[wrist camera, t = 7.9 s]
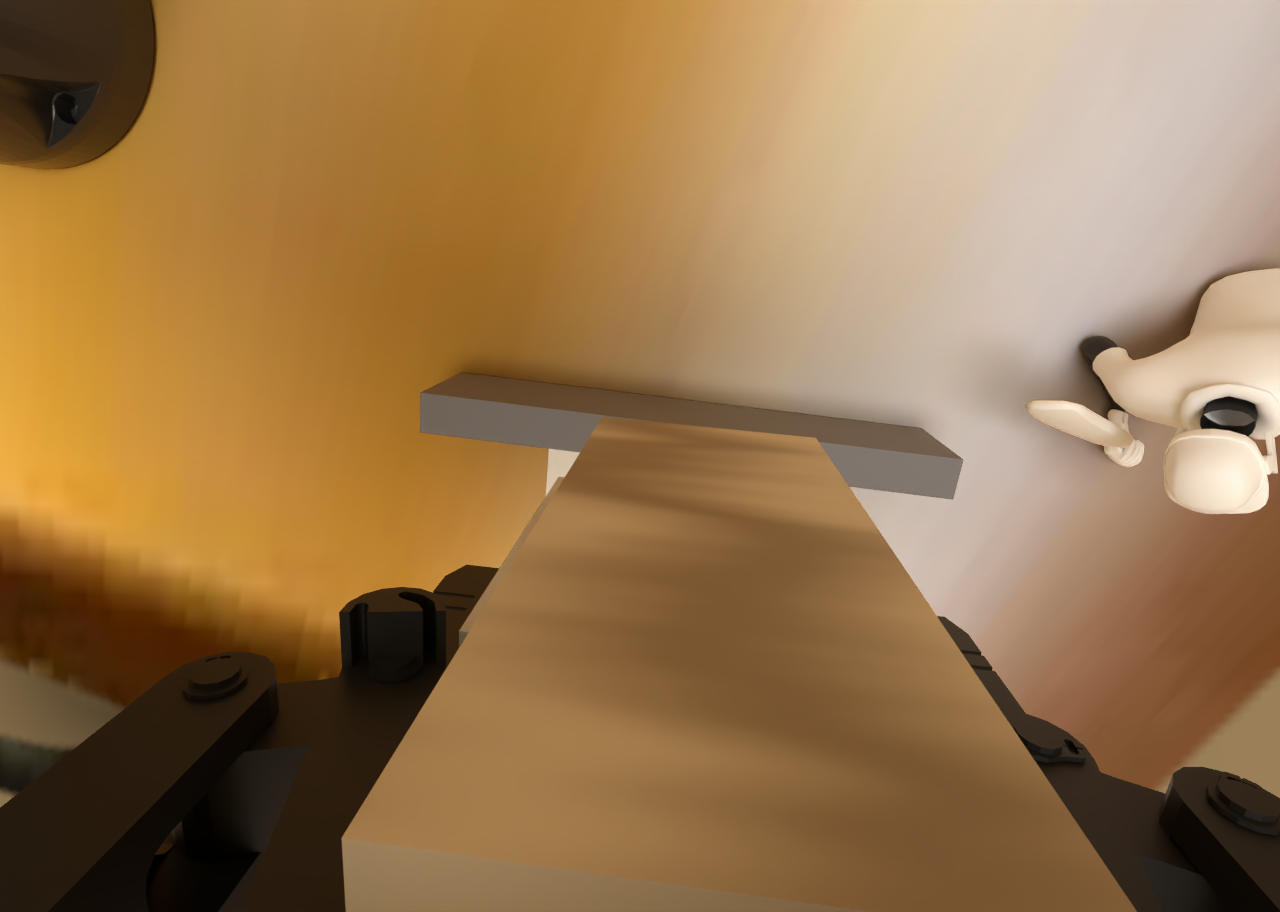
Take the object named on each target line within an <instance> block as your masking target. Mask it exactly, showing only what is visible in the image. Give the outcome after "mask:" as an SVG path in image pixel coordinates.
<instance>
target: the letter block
mask: <svg viewBox="0 0 1280 912" xmlns="http://www.w3.org/2000/svg"><path fill="white" fill-rule="evenodd" d="M342 855H343V872H344V889H345V906H346V912H1137V911H1136V909H1135V908H1134V906H1133V905H1132V903H1131V902H1130V901H1129V899H1128V898H1127V896H1126V895H1125V893H1124V892H1123V890H1122V889H1121V887H1120V886H1119V884H1118V883H1117V881H1116V880H1115V878H1114V877H1113V875H1112V874H1111V872H1110V871H1109V870H1108V868H1107V867H1106V865H1105V864H1104V862H1103V861H1102V859H1101V858H1100V856H1099V855H1098V853H1097V852H1096V850H1095V849H1094V847H1093V846H1092V844H1091V843H1090V842H1089V840H1088V839H1087V837H1086V836H1085V834H1084V833H1083V831H1082V830H1081V828H1080V827H1079V825H1078V824H1077V822H1076V821H1075V819H1074V818H1073V816H1072V815H1071V813H1070V812H1069V811H1068V809H1067V808H1066V806H1065V805H1064V803H1063V802H1062V800H1061V799H1060V797H1059V796H1058V794H1057V793H1056V791H1055V790H1054V788H1053V787H1052V785H1051V784H1050V782H1049V781H1048V780H1047V778H1046V777H1045V775H1044V774H1043V772H1042V771H1041V769H1040V768H1039V766H1038V765H1037V763H1036V762H1035V760H1034V759H1033V757H1032V756H1031V754H1030V753H1029V751H1028V750H1027V749H1026V747H1025V746H1024V744H1023V743H1022V741H1021V740H1020V738H1019V737H1018V735H1017V734H1016V732H1015V731H1014V729H1013V728H1012V726H1011V725H1010V723H1009V722H1008V721H1007V719H1006V718H1005V716H1004V715H1003V713H1002V712H1001V710H1000V709H999V707H998V706H997V704H996V703H995V701H994V700H993V698H992V697H991V695H990V694H989V692H988V691H987V690H986V688H985V687H984V685H983V684H982V682H981V681H980V679H979V678H978V676H977V675H976V673H975V672H974V670H973V669H972V667H971V666H970V664H969V663H968V661H967V660H966V659H965V657H964V656H963V654H962V653H961V651H960V650H959V648H958V647H957V645H956V644H955V642H954V641H953V639H952V638H951V636H950V635H949V633H948V632H947V630H946V629H945V628H944V626H943V625H942V623H941V622H940V620H939V619H938V617H937V616H936V614H935V613H934V611H933V610H932V608H931V607H930V605H929V604H928V602H927V601H926V600H925V598H924V597H923V595H922V594H921V592H920V591H919V589H918V588H917V586H916V585H915V583H914V582H913V580H912V579H911V577H910V576H909V574H908V573H907V571H906V570H905V569H904V567H903V566H902V564H901V563H900V561H899V560H898V558H897V557H896V555H895V554H894V552H893V551H892V549H891V548H890V546H889V545H888V543H887V542H886V540H885V539H884V538H883V536H882V535H881V533H880V532H879V530H878V529H877V527H876V526H875V524H874V523H873V521H872V520H871V518H870V517H869V515H868V514H867V512H866V511H865V509H864V508H863V507H862V505H861V504H860V502H859V501H858V499H857V498H856V496H855V495H854V493H853V492H852V490H851V489H850V487H849V486H848V484H847V483H846V481H845V480H844V479H843V477H842V476H841V474H840V473H839V471H838V470H837V468H836V467H835V465H834V464H833V462H832V461H831V459H830V458H829V456H828V455H827V453H826V452H825V450H824V449H823V448H822V446H821V445H820V443H819V442H818V440H817V439H816V438H812V437H802V436H792V435H782V434H772V433H762V432H752V431H742V430H732V429H722V428H712V427H702V426H692V425H682V424H672V423H662V422H652V421H642V420H632V419H622V418H612V417H602V418H601V419H600V421H599V423H598V424H597V426H596V428H595V429H594V431H593V432H592V434H591V436H590V437H589V439H588V441H587V442H586V444H585V445H584V447H583V449H582V450H581V452H580V453H579V455H578V457H577V458H576V460H575V462H574V463H573V465H572V466H571V468H570V470H569V471H568V473H567V474H566V476H565V478H564V479H563V481H562V483H561V484H560V486H559V487H558V489H557V491H556V492H555V494H554V495H553V497H552V499H551V500H550V502H549V504H548V505H547V507H546V508H545V510H544V512H543V513H542V515H541V516H540V518H539V520H538V521H537V523H536V525H535V526H534V528H533V529H532V531H531V533H530V534H529V536H528V537H527V539H526V541H525V542H524V544H523V546H522V547H521V549H520V550H519V552H518V554H517V555H516V557H515V558H514V560H513V562H512V563H511V565H510V567H509V568H508V570H507V571H506V573H505V575H504V576H503V578H502V580H501V581H500V583H499V584H498V586H497V588H496V589H495V591H494V592H493V594H492V596H491V597H490V599H489V601H488V602H487V604H486V605H485V607H484V609H483V610H482V612H481V613H480V615H479V617H478V618H477V620H476V622H475V623H474V625H473V626H472V628H471V630H470V631H469V633H468V634H467V636H466V638H465V639H464V641H463V643H462V644H461V646H460V647H459V649H458V651H457V652H456V654H455V655H454V657H453V659H452V660H451V662H450V664H449V665H448V667H447V668H446V670H445V672H444V673H443V675H442V676H441V678H440V680H439V681H438V683H437V685H436V686H435V688H434V689H433V691H432V693H431V694H430V696H429V697H428V699H427V701H426V702H425V704H424V706H423V707H422V709H421V710H420V712H419V714H418V715H417V717H416V719H415V720H414V722H413V723H412V725H411V727H410V728H409V730H408V731H407V733H406V735H405V736H404V738H403V740H402V741H401V743H400V744H399V746H398V748H397V749H396V751H395V752H394V754H393V756H392V757H391V759H390V761H389V762H388V764H387V765H386V767H385V769H384V770H383V772H382V773H381V775H380V777H379V778H378V780H377V782H376V783H375V785H374V786H373V788H372V790H371V791H370V793H369V794H368V796H367V798H366V799H365V801H364V803H363V804H362V806H361V807H360V809H359V811H358V812H357V814H356V815H355V817H354V819H353V820H352V822H351V824H350V825H349V827H348V828H347V830H346V832H345V833H344V835H343V837H342Z"/></svg>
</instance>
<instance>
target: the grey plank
mask: <svg viewBox="0 0 1280 912" xmlns="http://www.w3.org/2000/svg"><path fill="white" fill-rule="evenodd" d="M602 417H612V418H622V419H632V420H642V421H652V422H662V423H672V424H682V425H692V426H702V427H712V428H722V429H732V430H742V431H752V432H762V433H772V434H782V435H792V436H802V437H812V438H816V439H817V440H818V442H819V443H820V445H821V446H822V448H823V449H824V450H825V452H826V453H827V455H828V456H829V458H830V459H831V461H832V462H833V464H834V465H835V467H836V468H837V470H838V471H839V473H840V474H841V476H842V477H843V479H844V480H845V481H846V483H847V484H848V486H850V487H858V488H866V489H874V490H882V491H890V492H898V493H906V494H914V495H921V496H929V497H937V498H945V499H953V498H954V494H955V490H956V486H957V482H958V478H959V475H960V471H961V467H962V463H963V459H962V458H961V457H959V456H958V455H957V454H955V453H954V452H953V451H951V450H950V449H949V448H947V447H946V446H944V445H943V444H942V443H940V442H939V441H938V440H936V439H935V438H934V437H932V436H931V435H930V434H928V433H927V432H926V431H924V430H923V429H922V428H915V427H906V426H898V425H890V424H882V423H874V422H865V421H857V420H849V419H841V418H832V417H824V416H816V415H808V414H800V413H791V412H783V411H775V410H767V409H758V408H750V407H742V406H734V405H725V404H717V403H709V402H701V401H693V400H684V399H676V398H668V397H660V396H651V395H643V394H635V393H627V392H618V391H610V390H602V389H594V388H586V387H577V386H569V385H561V384H553V383H544V382H536V381H528V380H520V379H512V378H503V377H495V376H487V375H479V374H470V373H460V374H458V375H456V376H454V377H452V378H450V379H448V380H445V381H443V382H441V383H439V384H437V385H435V386H433V387H431V388H429V389H427V390H425V391H423V392H421V395H420V432H421V433H429V434H437V435H445V436H453V437H461V438H469V439H477V440H485V441H493V442H501V443H509V444H517V445H524V446H532V447H540V448H548V449H556V450H564V451H572V452H581V450H582V449H583V447H584V445H585V444H586V442H587V441H588V439H589V437H590V436H591V434H592V432H593V431H594V429H595V428H596V426H597V424H598V423H599V421H600V419H601V418H602Z"/></svg>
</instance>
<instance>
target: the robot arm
mask: <svg viewBox="0 0 1280 912" xmlns="http://www.w3.org/2000/svg"><path fill="white" fill-rule="evenodd" d="M153 54H154V31H153V20H152V12H151V6H150V1H149V0H0V164H7V165H14V166H21V167H29V168H36V169H59V168H66V167H71V166H75V165H79V164H82V163H85V162H87V161H89V160H92V159H94V158H95V157H97V156H99V155H101V154H102V153H104V152H105V151H107V150H108V149H109V148H111V147H112V146H113V145H114V144H115V143H116V142H117V141H118V140H119V139H120V138H121V137H122V136H123V135H124V134H125V133H126V131H127V130H128V129H129V127H130V126H131V124H132V123H133V121H134V120H135V118H136V116H137V114H138V112H139V110H140V108H141V106H142V104H143V101H144V99H145V96H146V93H147V89H148V86H149V82H150V77H151V72H152V65H153ZM564 478H565V477H558V478H557V480H556V482H555V483H554V485H553V486H552V488H551V489H550V491H549V492H548V494H547V495H546V497H545V499H544V500H543V502H542V503H541V505H540V506H539V508H538V509H537V511H536V513H535V514H534V516H533V517H532V519H531V520H530V522H529V523H528V525H527V526H526V528H525V530H524V531H523V533H522V534H521V536H520V537H519V539H518V540H517V542H516V543H515V545H514V547H513V548H512V550H511V551H510V553H509V554H508V556H507V557H506V559H505V561H504V562H503V564H502V565H501V567H500V568H490V567H482V566H473V565H465V566H463V567H461V568H460V569H458V570H456V571H454V572H452V573H450V574H449V575H447V576H445V577H444V579H443V580H442V581H441V582H440V584H439V585H438V586H437V587H436V589H435V590H434V592H433V593H432V592H429V591H426V590H423V589H418V588H406V587H398V588H388V589H380V590H377V591H373V592H370V593H366V594H363V595H361V596H359V597H357V598H356V599H354V600H352V601H350V602H348V603H347V604H346V605H345V607H344V608H343V609H342V610H341V611H340V612H339V616H340V635H341V653H342V670H341V672H340V675H339V677H336V678H330V679H323V680H316V681H304V682H292V683H280V684H277V680H276V669H275V664H274V663H273V662H272V661H270V660H269V659H268V658H267V657H266V656H262V655H258V654H254V653H251V652H227V653H220V654H218V655H217V654H214V655H210V656H206V657H204V658H202V659H199V660H196V661H193V662H191V663H188V664H185V665H183V666H182V667H180V668H178V669H177V670H175V671H173V672H172V673H170V674H169V675H167V676H165V677H164V678H163V679H162V680H160V681H159V682H158V683H157V684H155V685H154V686H153V687H151V688H150V689H149V690H148V691H146V692H145V693H144V694H143V695H141V696H140V697H139V698H138V699H136V700H135V701H134V702H133V703H131V704H130V705H129V706H128V707H126V708H125V709H124V710H123V711H121V712H120V713H119V714H118V715H116V716H115V717H114V718H113V719H111V720H110V721H109V722H107V723H106V724H105V725H104V726H103V727H101V728H100V729H99V730H97V731H96V732H95V733H94V734H92V735H91V736H90V737H89V738H87V739H86V740H85V741H84V742H82V743H81V744H80V745H79V746H77V747H76V748H75V749H74V750H72V751H71V752H70V753H68V754H67V755H66V756H65V757H63V758H62V759H61V760H60V761H58V762H57V763H56V764H55V765H53V766H52V767H51V768H50V769H48V770H47V771H46V772H45V773H43V774H42V775H41V776H40V777H38V778H37V779H36V780H35V781H33V782H32V783H31V784H29V785H28V786H27V787H26V788H24V789H23V790H22V791H21V792H19V793H18V794H17V795H16V796H14V797H13V798H12V799H11V800H9V801H8V802H7V803H6V804H4V805H3V806H2V807H1V808H0V912H346V906H345V889H344V872H343V855H342V837H343V835H344V833H345V832H346V830H347V828H348V827H349V825H350V824H351V822H352V820H353V819H354V817H355V815H356V814H357V812H358V811H359V809H360V807H361V806H362V804H363V803H364V801H365V799H366V798H367V796H368V794H369V793H370V791H371V790H372V788H373V786H374V785H375V783H376V782H377V780H378V778H379V777H380V775H381V773H382V772H383V770H384V769H385V767H386V765H387V764H388V762H389V761H390V759H391V757H392V756H393V754H394V752H395V751H396V749H397V748H398V746H399V744H400V743H401V741H402V740H403V738H404V736H405V735H406V733H407V731H408V730H409V728H410V727H411V725H412V723H413V722H414V720H415V719H416V717H417V715H418V714H419V712H420V710H421V709H422V707H423V706H424V704H425V702H426V701H427V699H428V697H429V696H430V694H431V693H432V691H433V689H434V688H435V686H436V685H437V683H438V681H439V680H440V678H441V676H442V675H443V673H444V672H445V670H446V668H447V667H448V665H449V664H450V662H451V660H452V659H453V657H454V655H455V654H456V652H457V651H458V649H459V647H460V646H461V644H462V643H463V641H464V639H465V638H466V636H467V634H468V633H469V631H470V630H471V628H472V626H473V625H474V623H475V622H476V620H477V618H478V617H479V615H480V613H481V612H482V610H483V609H484V607H485V605H486V604H487V602H488V601H489V599H490V597H491V596H492V594H493V592H494V591H495V589H496V588H497V586H498V584H499V583H500V581H501V580H502V578H503V576H504V575H505V573H506V571H507V570H508V568H509V567H510V565H511V563H512V562H513V560H514V558H515V557H516V555H517V554H518V552H519V550H520V549H521V547H522V546H523V544H524V542H525V541H526V539H527V537H528V536H529V534H530V533H531V531H532V529H533V528H534V526H535V525H536V523H537V521H538V520H539V518H540V516H541V515H542V513H543V512H544V510H545V508H546V507H547V505H548V504H549V502H550V500H551V499H552V497H553V495H554V494H555V492H556V491H557V489H558V487H559V486H560V484H561V483H562V481H563V479H564ZM937 617H938V619H939V620H940V622H941V623H942V625H943V626H944V628H945V629H946V630H947V632H948V633H949V635H950V636H951V638H952V639H953V641H954V642H955V644H956V645H957V647H958V648H959V650H960V651H961V653H962V654H963V656H964V657H965V659H966V660H967V661H968V663H969V664H970V666H971V667H972V669H973V670H974V672H975V673H976V675H977V676H978V678H979V679H980V681H981V682H982V684H983V685H984V687H985V688H986V690H987V691H988V692H989V694H990V695H991V697H992V698H993V700H994V701H995V703H996V704H997V706H998V707H999V709H1000V710H1001V712H1002V713H1003V715H1004V716H1005V718H1006V719H1007V721H1008V722H1009V723H1010V725H1011V726H1012V728H1013V729H1014V731H1015V732H1016V734H1017V735H1018V737H1019V738H1020V740H1021V741H1022V743H1023V744H1024V746H1025V747H1026V749H1027V750H1028V751H1029V753H1030V754H1031V756H1032V757H1033V759H1034V760H1035V762H1036V763H1037V765H1038V766H1039V768H1040V769H1041V771H1042V772H1043V774H1044V775H1045V777H1046V778H1047V780H1048V781H1049V782H1050V784H1051V785H1052V787H1053V788H1054V790H1055V791H1056V793H1057V794H1058V796H1059V797H1060V799H1061V800H1062V802H1063V803H1064V805H1065V806H1066V808H1067V809H1068V811H1069V812H1070V813H1071V815H1072V816H1073V818H1074V819H1075V821H1076V822H1077V824H1078V825H1079V827H1080V828H1081V830H1082V831H1083V833H1084V834H1085V836H1086V837H1087V839H1088V840H1089V842H1090V843H1091V844H1092V846H1093V847H1094V849H1095V850H1096V852H1097V853H1098V855H1099V856H1100V858H1101V859H1102V861H1103V862H1104V864H1105V865H1106V867H1107V868H1108V870H1109V871H1110V872H1111V874H1112V875H1113V877H1114V878H1115V880H1116V881H1117V883H1118V884H1119V886H1120V887H1121V889H1122V890H1123V892H1124V893H1125V895H1126V896H1127V898H1128V899H1129V901H1130V902H1131V903H1132V905H1133V906H1134V908H1135V909H1136V911H1137V912H1280V798H1278V797H1277V796H1275V795H1273V794H1271V793H1270V792H1268V791H1266V790H1264V789H1262V787H1260V786H1259V785H1257V784H1256V783H1253V782H1251V781H1249V780H1247V779H1244V778H1243V779H1241V778H1240V777H1239V776H1236V775H1233V774H1230V773H1228V772H1221V771H1217V770H1213V769H1208V768H1205V767H1183V768H1181V769H1180V770H1178V771H1176V772H1175V773H1173V775H1172V778H1171V781H1170V783H1169V786H1168V789H1167V791H1166V794H1164V793H1161V792H1158V791H1155V790H1152V789H1149V788H1146V787H1143V786H1140V785H1136V784H1133V783H1130V782H1127V781H1124V780H1121V779H1118V778H1114V777H1112V776H1109V775H1106V774H1104V773H1101V772H1100V771H1099V768H1098V766H1097V764H1096V762H1095V760H1094V758H1093V757H1092V756H1091V754H1090V753H1089V752H1088V750H1087V749H1086V747H1085V746H1084V745H1083V744H1081V743H1080V742H1079V741H1078V740H1076V739H1075V738H1074V737H1073V736H1071V735H1070V734H1069V733H1068V732H1066V731H1064V730H1062V729H1061V728H1059V727H1057V726H1055V725H1053V724H1051V723H1049V722H1048V721H1045V720H1042V719H1040V718H1037V717H1034V716H1031V715H1028V714H1026V713H1025V712H1024V710H1023V709H1022V708H1021V706H1020V705H1019V704H1018V702H1017V701H1016V699H1015V698H1014V697H1013V695H1012V694H1011V693H1010V691H1009V690H1008V688H1007V687H1006V686H1005V684H1004V683H1003V682H1002V680H1001V679H1000V677H999V676H998V675H997V673H996V672H995V671H992V666H991V665H990V664H989V662H988V661H987V660H986V658H985V657H984V656H981V651H980V650H979V649H978V647H977V646H976V644H975V643H974V642H973V640H972V639H971V638H970V636H969V635H968V634H967V633H966V632H964V631H963V630H962V629H960V628H959V627H958V626H956V625H955V624H954V623H952V622H951V621H949V620H948V619H947V618H945V617H940V616H937Z"/></svg>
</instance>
